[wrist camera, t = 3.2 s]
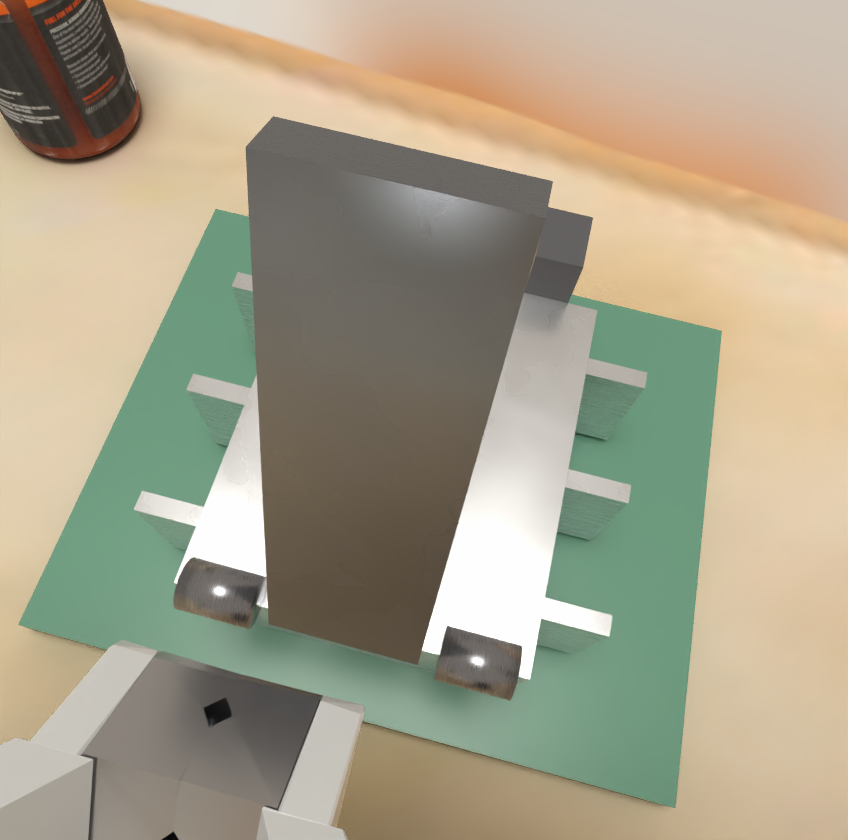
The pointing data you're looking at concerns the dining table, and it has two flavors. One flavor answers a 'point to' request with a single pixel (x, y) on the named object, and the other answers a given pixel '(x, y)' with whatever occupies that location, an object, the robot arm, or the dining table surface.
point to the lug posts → (559, 255)
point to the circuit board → (386, 680)
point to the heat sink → (480, 518)
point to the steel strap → (375, 367)
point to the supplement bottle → (64, 77)
